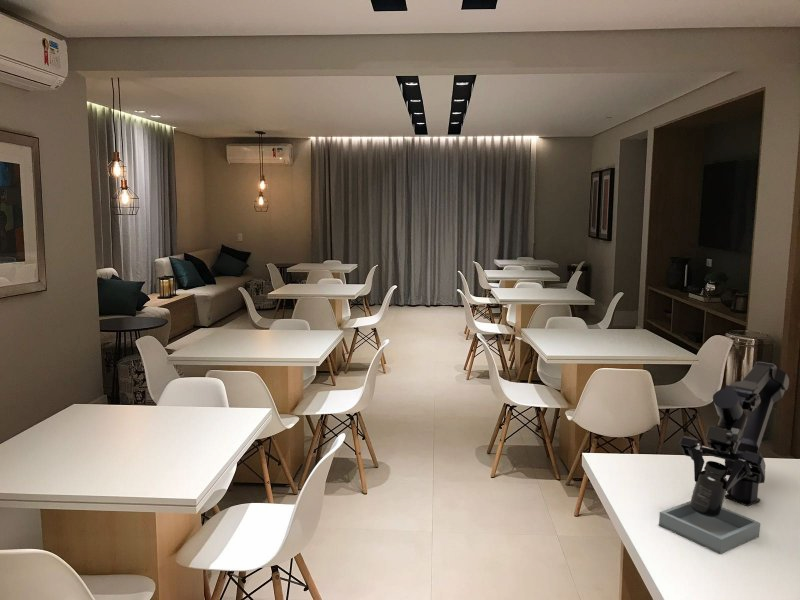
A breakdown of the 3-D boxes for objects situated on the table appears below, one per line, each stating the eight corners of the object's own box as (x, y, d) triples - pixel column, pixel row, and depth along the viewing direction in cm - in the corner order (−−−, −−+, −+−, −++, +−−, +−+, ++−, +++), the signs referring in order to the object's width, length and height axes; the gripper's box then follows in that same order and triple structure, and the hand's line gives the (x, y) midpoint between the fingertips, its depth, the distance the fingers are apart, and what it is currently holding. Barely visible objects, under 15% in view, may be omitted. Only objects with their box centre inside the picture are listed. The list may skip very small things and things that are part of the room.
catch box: (759, 536, 161) (760, 522, 160) (720, 554, 152) (721, 539, 151) (697, 510, 174) (698, 497, 173) (658, 525, 165) (659, 511, 165)
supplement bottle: (725, 519, 161) (738, 473, 158) (699, 517, 159) (712, 472, 156) (708, 503, 167) (721, 459, 164) (683, 501, 166) (696, 457, 163)
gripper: (684, 404, 168) (663, 458, 162) (766, 421, 155) (747, 481, 149) (693, 427, 175) (674, 480, 168) (773, 445, 162) (755, 503, 156)
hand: (710, 485), depth 160 cm, fingers closed on supplement bottle, 7 cm apart
